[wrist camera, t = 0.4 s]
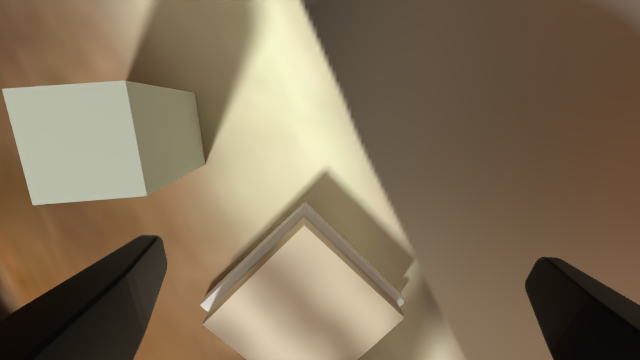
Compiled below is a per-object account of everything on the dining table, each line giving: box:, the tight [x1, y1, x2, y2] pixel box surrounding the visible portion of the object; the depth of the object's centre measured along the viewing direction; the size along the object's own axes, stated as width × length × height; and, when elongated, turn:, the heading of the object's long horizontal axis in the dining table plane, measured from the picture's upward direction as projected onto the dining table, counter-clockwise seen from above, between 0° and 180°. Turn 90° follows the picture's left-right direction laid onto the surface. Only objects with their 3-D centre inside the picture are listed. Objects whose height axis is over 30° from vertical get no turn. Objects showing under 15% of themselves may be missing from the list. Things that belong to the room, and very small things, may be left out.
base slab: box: [200, 201, 405, 312], centre depth 26 cm, size 11×11×2 cm
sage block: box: [2, 81, 205, 205], centre depth 18 cm, size 5×5×9 cm
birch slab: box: [202, 216, 405, 360], centre depth 24 cm, size 10×10×2 cm
